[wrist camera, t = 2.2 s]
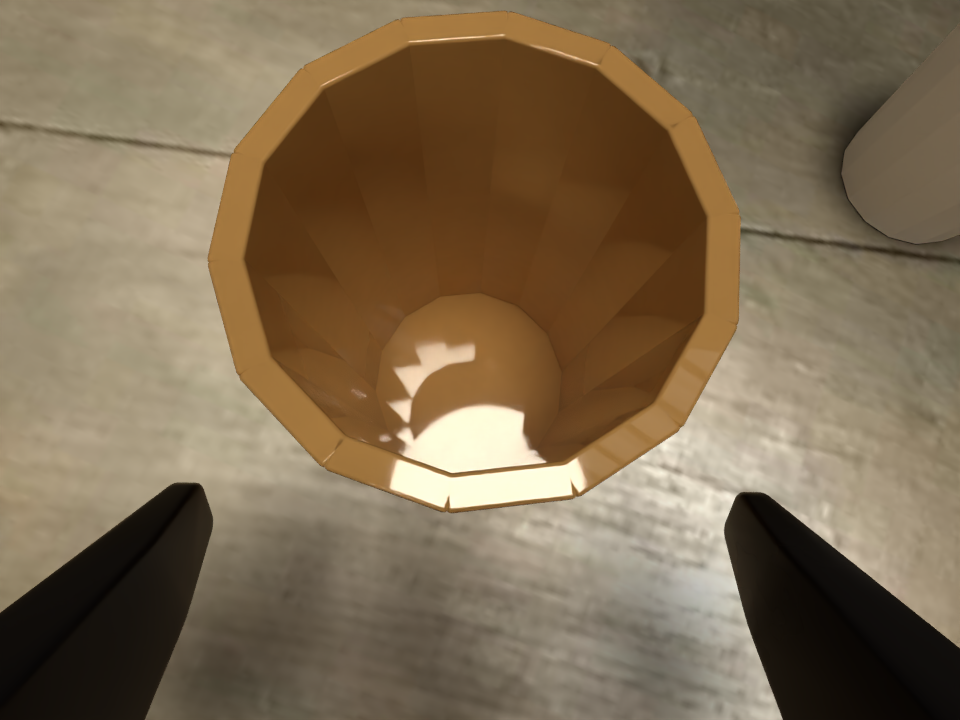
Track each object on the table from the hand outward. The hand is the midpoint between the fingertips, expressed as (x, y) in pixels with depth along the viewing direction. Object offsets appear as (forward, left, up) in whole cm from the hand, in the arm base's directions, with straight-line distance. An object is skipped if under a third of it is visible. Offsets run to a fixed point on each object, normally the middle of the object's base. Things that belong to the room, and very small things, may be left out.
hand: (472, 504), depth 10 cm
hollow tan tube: (+4, +1, -10) cm, 11 cm away
